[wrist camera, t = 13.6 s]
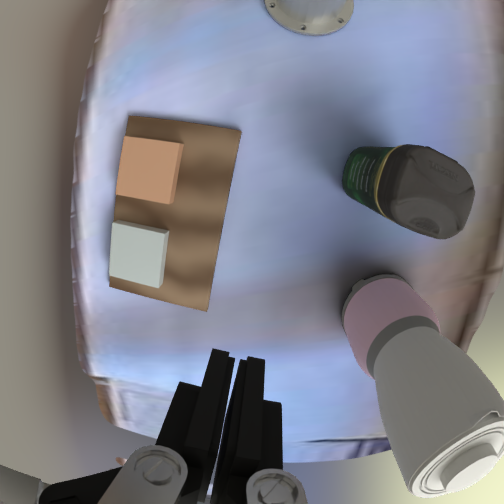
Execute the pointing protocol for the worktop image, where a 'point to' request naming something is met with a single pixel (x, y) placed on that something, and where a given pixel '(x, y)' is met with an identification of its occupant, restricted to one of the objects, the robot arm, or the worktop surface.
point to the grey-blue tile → (138, 253)
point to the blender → (424, 389)
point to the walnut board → (185, 208)
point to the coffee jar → (411, 187)
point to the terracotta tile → (149, 169)
